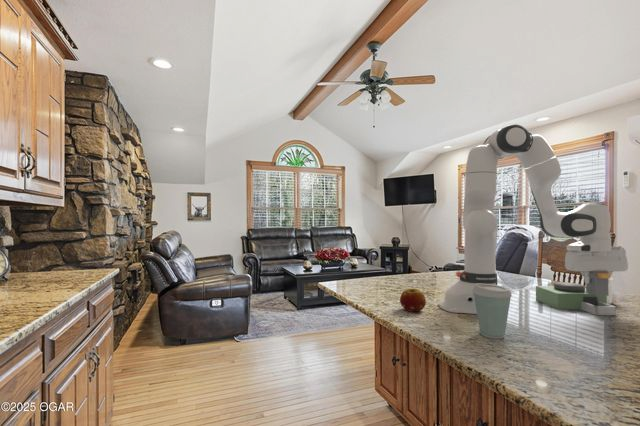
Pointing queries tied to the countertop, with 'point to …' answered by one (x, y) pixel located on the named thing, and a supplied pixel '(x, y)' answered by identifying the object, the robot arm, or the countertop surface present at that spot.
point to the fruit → (412, 300)
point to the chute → (598, 283)
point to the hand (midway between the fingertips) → (596, 283)
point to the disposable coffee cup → (492, 309)
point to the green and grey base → (573, 298)
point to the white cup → (610, 291)
